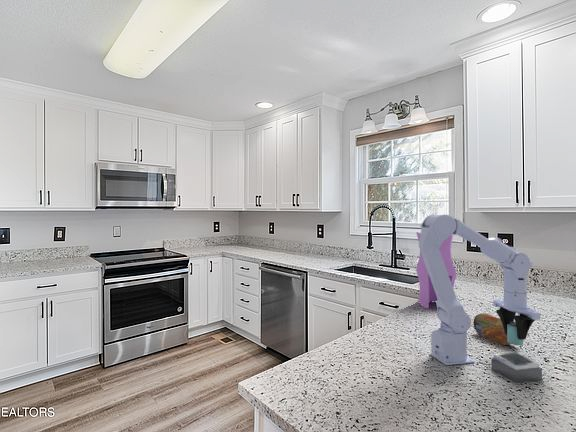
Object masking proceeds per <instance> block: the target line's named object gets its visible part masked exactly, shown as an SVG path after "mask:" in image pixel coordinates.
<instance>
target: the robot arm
mask: <svg viewBox="0 0 576 432" xmlns="http://www.w3.org/2000/svg"><path fill="white" fill-rule="evenodd" d="M420 233H421V235H420V240H419V241H418V248H419V252H420V251H421V254H422V257H423V260H424V262H425V265H426V268H427V271H428V274H429V276H430V279H431V282H432V285H433V288H434V291H435V293H436V296H437V299H438V300H437V302H435V304H436V309H437V310H436V316H437V318H438V320H439V321H440V325H439V326H440V327H439V328H438V329H436V330H433V331H432V332H431V337H430V339H431V341H430V342H431V343H430V345H431V346H430V352H429V355H431V356H432V358H435V359H436V360H437V361H439V362H441V364H444V366H452V365H454V366H455V365H461V364H463V365H464V364H471V363H475V360H473V359H472V358H470V357H469V356H468V343H467V342H468V341H467V340H468V338H467V337H468V335H467V334H468V332H467V331H468V330H470V328H471V326H472V318H471V317H470V315H469V314H468V313H467V312H466V310H465V309H464V306H463V305H462V303H461V302H460V301H459V299H458V298H457V296H456V292H455V290H454V287H452V284H451V281H450V279H449V276H448V273H447V270H446V267H445V265H444V262H443V259H442V256H441V253H440V251H439V247H440V246H441V244H442V243H443V241H444V240H445V239H447V238H448V237H449V236H450V235H452V234H453V236H454V235H455V236H459V237H461V238H462V239H465V240H466V241H468V242H470V243H472V244H474V245H476V246H477V247H479V248H480V252H481V254H483V255H485V256H486V257H487V258H489V259H491V260H493V261H495V262H496V263H498V264H499V265H500V267H501V268H503V300H500V299H493V300H492V305H493V307H497V308H499V309H496V310H495V311H496V312H495V313H496V314H497V315H498V317H500V319H501V322H502V324H503V328H504V331H505V334H507V324H509V323H510V322H511V321H513V322H516V326H517V337H518V339H519V340H523V341H524V340H526V339H527V336H528V332H529V330H530V328H531V326H532V325H533V323H534V322H535V321H536V320H537V321H539V320H541V312H539V311H536V310H534V309H532V308H530V307H529V305H528V299H527V298H528V295H527V293H528V292H527V291H528V287H527V286H528V283H527V281H528V275H529V274H528V273H529V271H530V270H531V268H532V266H533V265H532V264H533V262H531V260H530V258H529V256H528V255H527V254H526V253H524V252H518V251H517V250H516V248H515V247H513V246H509V245H508V244H505V243H504V242H503V240H502V239H501V238H500V237H488V238H487V237H486V236H484V235H482V234H481V233H479V232H478V231H477V230H475V229H473V228H472V227H470V226H468V225H467V224H466V223H464V222H463V221H461V220H460V219H458V218H456V217H455V218H454V217H453V216H452V215H450V214H430V215H428V216H426V217H425V218H424V220H423V221H422V223H421V224H420ZM516 314H517V315H516Z"/></svg>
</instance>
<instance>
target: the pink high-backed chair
mask: <svg viewBox="0 0 576 432" xmlns="http://www.w3.org/2000/svg"><path fill="white" fill-rule="evenodd" d="M420 235H421V231H419V232H416V236H417V241H418V242H419V240H420ZM453 238H454V234H452V235H450V236H449V237H448V238H447V239H445V240H444V241H443V243H442V244H441V246H440V247H439V251H440V253H441V256H442V259H443V262H444V265H445V267H446V270H447V273H448V276H449V279H450V281H451V284H452V287H453V288H455V287H454V286H455V281H456V277H457V270H456V268H455V266H454V265H455V264H454V263H453V259H452V253H451V250H452V249H451V248H452V242H453ZM415 267H416V268H415V269H416V270H415V271H416V275H417V279H418V284H419V294H418V301H417V302H420V303H421V304H422V305H423V306H424V307H425V308H428V309H429V303H430V302H429V301H437V300H438V299H437V296H436V293H435V291H434V288H433V285H432V282H431V279H430V276H429V274H428V271H427V268H426V265H425V262H424V260H423V257H422V254H421V251H420V250H419V257H418V261H417V263H416V266H415ZM423 306H422V307H423ZM424 307H423V308H424ZM425 308H424V309H425Z"/></svg>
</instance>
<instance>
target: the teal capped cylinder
mask: <svg viewBox="0 0 576 432" xmlns="http://www.w3.org/2000/svg"><path fill="white" fill-rule="evenodd" d="M507 342H508V343H510V344H509V345H514V346H523V345H524V340H519V339H518V337H517V326H516V322H515V321H514V322H513V321H511V322H510V323H509V324H507Z"/></svg>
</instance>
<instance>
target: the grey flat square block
mask: <svg viewBox="0 0 576 432" xmlns="http://www.w3.org/2000/svg"><path fill="white" fill-rule="evenodd" d="M491 370H493V371H495V372H496V373H498V374H500V375H501V376H503V377H505V378H507V379H509V380H510V381H512V382H514V383H515V384H519V383H528V382H536V381H543V368H542V367H540V363H538V362H537V361H535V360H533V359H532V358H531V359H530V358H528V357H526V356H524V355H522V354H520V353H518V352H516V351H515V352H514V351H513V352H506V353H505V352H504V353H496V354H495V353H494V354H493V357H491Z"/></svg>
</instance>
